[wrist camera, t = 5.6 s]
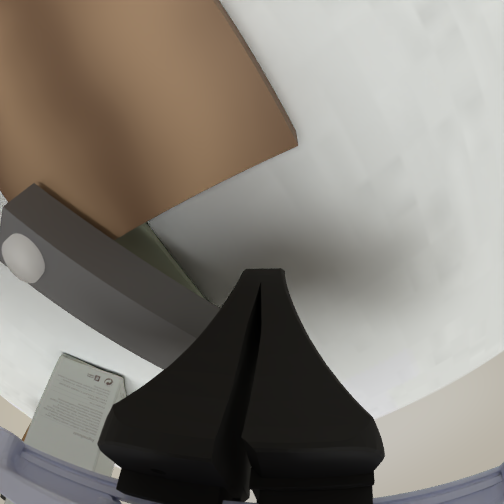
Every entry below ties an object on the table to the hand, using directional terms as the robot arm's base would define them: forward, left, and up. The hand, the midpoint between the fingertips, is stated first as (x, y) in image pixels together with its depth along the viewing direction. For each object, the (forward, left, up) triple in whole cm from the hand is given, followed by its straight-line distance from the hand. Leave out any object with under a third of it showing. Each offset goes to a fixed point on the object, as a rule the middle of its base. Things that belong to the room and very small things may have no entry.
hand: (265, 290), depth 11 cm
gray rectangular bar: (-5, +2, -1) cm, 6 cm away
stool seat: (-3, +5, -3) cm, 7 cm away
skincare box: (-20, -7, -3) cm, 21 cm away
